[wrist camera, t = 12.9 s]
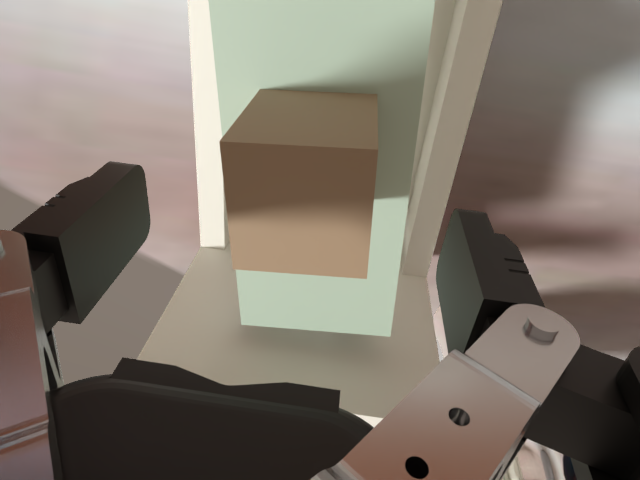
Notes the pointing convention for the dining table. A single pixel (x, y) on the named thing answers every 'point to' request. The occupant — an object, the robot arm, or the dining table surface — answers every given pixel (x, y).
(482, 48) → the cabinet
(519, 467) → the beer glass
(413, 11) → the shelf board
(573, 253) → the dining table surface
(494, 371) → the robot arm
